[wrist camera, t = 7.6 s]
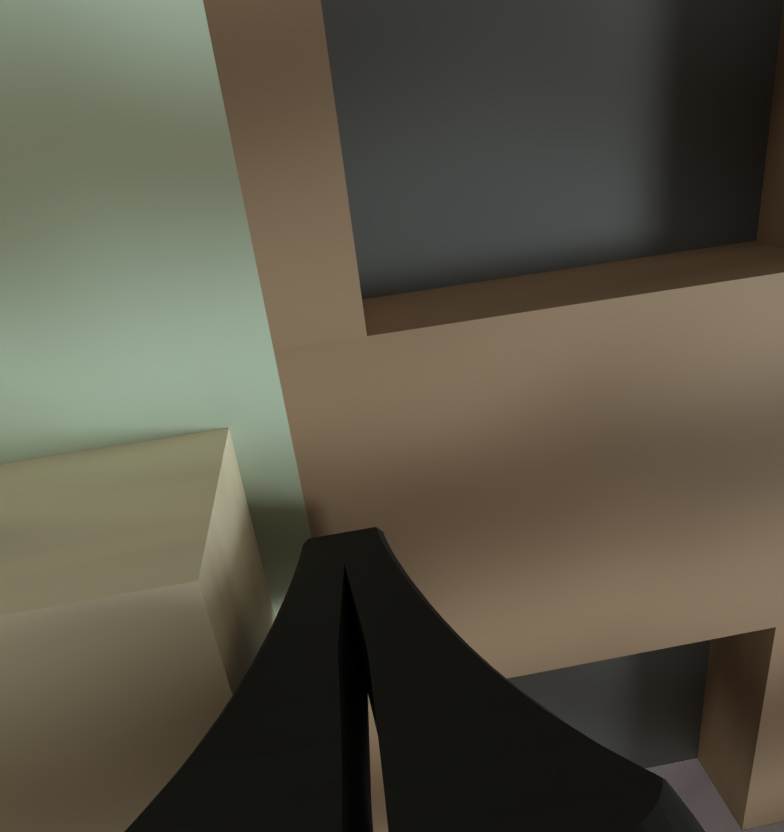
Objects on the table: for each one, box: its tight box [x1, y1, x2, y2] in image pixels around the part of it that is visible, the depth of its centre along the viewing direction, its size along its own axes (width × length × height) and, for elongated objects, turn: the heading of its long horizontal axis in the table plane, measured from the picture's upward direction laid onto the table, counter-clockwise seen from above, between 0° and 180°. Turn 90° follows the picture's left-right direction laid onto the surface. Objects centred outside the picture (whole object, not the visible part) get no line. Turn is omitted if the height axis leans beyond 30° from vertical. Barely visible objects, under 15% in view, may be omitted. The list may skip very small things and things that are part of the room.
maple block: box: [0, 428, 275, 832], centre depth 11 cm, size 6×6×4 cm
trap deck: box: [0, 0, 784, 832], centre depth 13 cm, size 22×28×4 cm
